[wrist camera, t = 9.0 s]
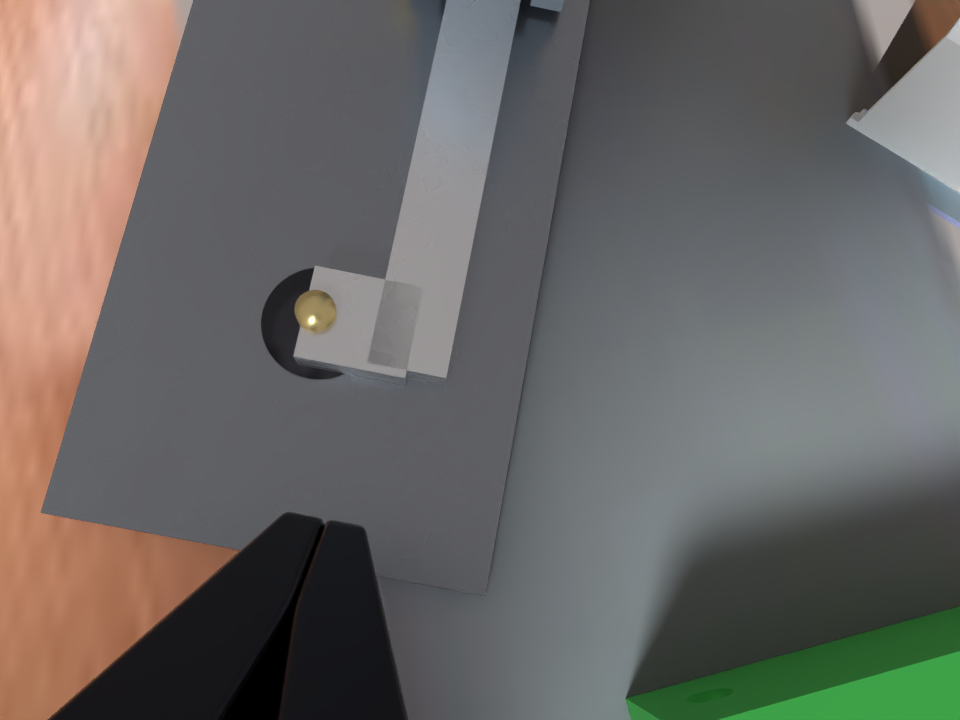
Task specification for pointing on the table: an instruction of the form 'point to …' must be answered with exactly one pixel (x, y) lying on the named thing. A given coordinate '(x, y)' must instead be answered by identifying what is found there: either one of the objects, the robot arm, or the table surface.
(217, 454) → the flange plate
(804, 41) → the table surface
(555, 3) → the gray rectangular block
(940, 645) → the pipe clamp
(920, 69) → the diorama
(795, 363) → the table surface
